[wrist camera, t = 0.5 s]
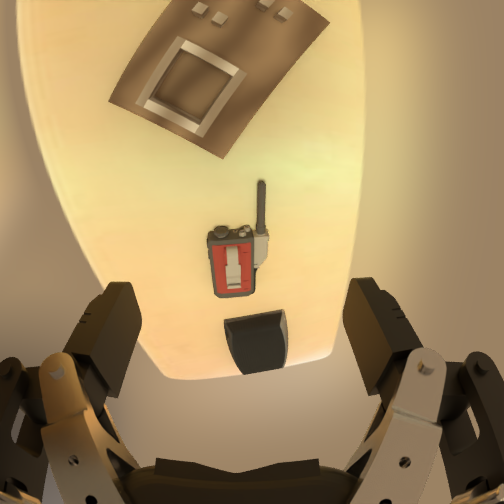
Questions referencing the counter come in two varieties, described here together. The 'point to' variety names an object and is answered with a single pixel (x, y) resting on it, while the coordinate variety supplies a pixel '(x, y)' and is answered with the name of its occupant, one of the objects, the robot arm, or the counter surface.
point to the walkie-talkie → (238, 254)
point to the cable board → (215, 65)
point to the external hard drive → (258, 341)
